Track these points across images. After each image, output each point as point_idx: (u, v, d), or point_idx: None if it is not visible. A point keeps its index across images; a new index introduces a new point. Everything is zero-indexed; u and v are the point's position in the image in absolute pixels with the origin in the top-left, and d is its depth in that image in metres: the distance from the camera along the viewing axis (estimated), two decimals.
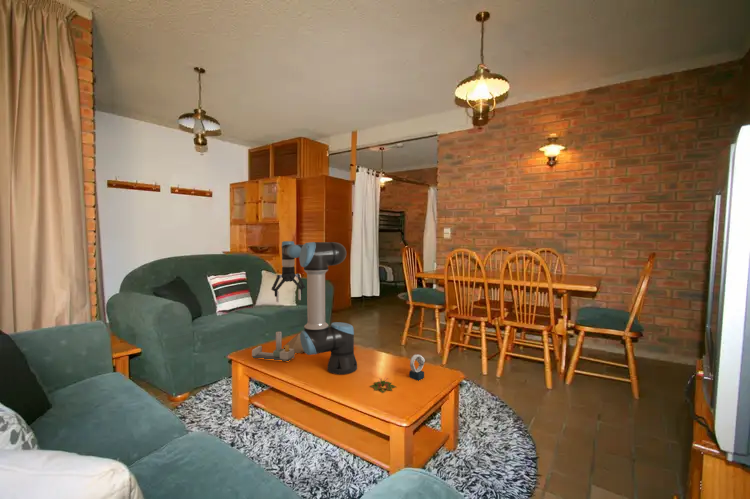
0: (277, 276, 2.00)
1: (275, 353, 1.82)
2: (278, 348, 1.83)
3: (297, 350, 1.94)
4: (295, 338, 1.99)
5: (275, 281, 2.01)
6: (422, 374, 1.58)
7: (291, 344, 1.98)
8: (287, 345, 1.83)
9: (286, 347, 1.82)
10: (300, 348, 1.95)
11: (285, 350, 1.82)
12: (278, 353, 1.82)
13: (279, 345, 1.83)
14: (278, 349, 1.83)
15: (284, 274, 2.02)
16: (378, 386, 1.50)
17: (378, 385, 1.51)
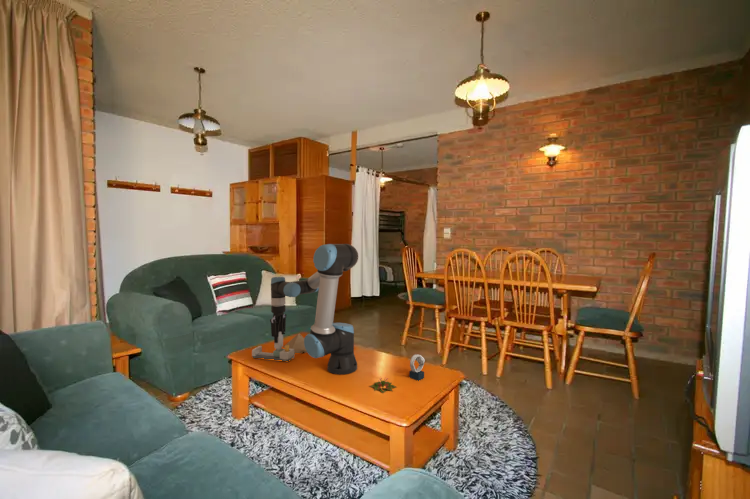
0: (273, 321, 1.77)
1: (275, 353, 1.82)
2: None
3: (297, 350, 1.94)
4: (295, 338, 1.99)
5: (273, 327, 1.78)
6: (422, 374, 1.58)
7: (291, 344, 1.98)
8: (287, 345, 1.83)
9: (286, 347, 1.82)
10: (300, 348, 1.95)
11: (285, 350, 1.82)
12: (278, 353, 1.82)
13: None
14: (278, 349, 1.83)
15: (277, 314, 1.81)
16: (378, 386, 1.50)
17: (378, 385, 1.51)
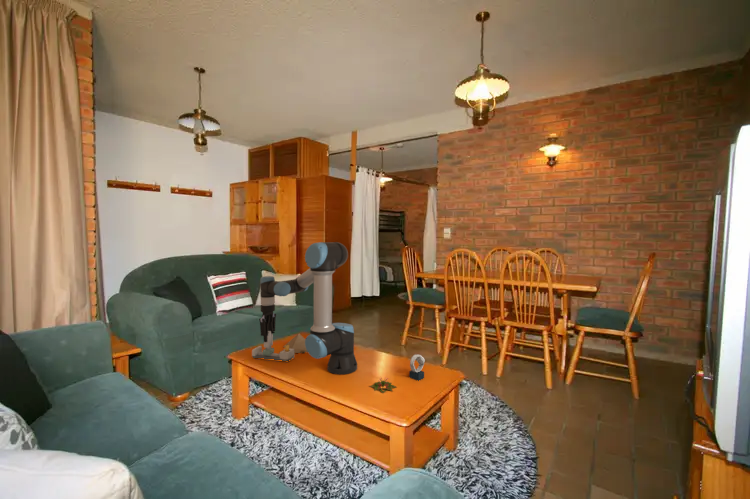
0: (262, 320, 1.79)
1: (264, 352, 1.84)
2: None
3: (297, 350, 1.94)
4: (295, 338, 1.99)
5: (262, 326, 1.80)
6: (422, 374, 1.58)
7: (291, 344, 1.98)
8: (287, 345, 1.83)
9: (286, 347, 1.82)
10: (300, 348, 1.95)
11: (285, 350, 1.82)
12: (267, 352, 1.83)
13: None
14: (267, 348, 1.84)
15: (266, 313, 1.82)
16: (378, 386, 1.50)
17: (378, 385, 1.51)
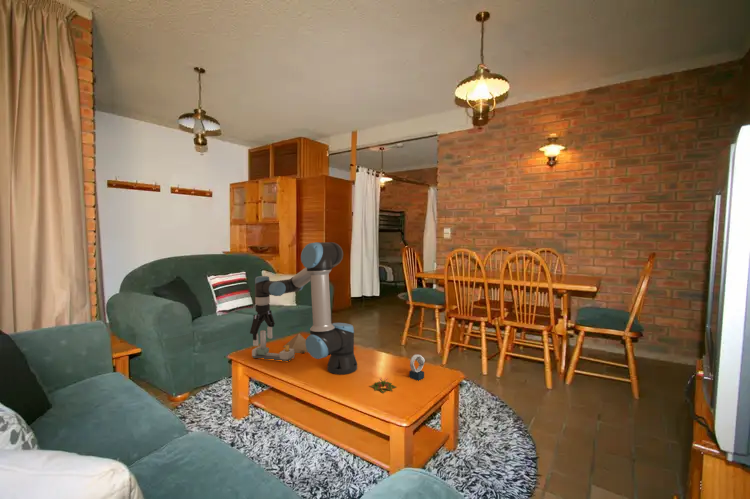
0: (256, 317, 1.79)
1: (259, 351, 1.85)
2: (262, 347, 1.85)
3: (297, 350, 1.93)
4: (295, 338, 1.99)
5: (254, 323, 1.79)
6: (422, 374, 1.58)
7: (291, 344, 1.98)
8: (287, 345, 1.83)
9: (286, 347, 1.82)
10: (300, 348, 1.95)
11: (285, 350, 1.82)
12: (262, 351, 1.84)
13: (263, 344, 1.85)
14: (262, 348, 1.85)
15: (261, 313, 1.83)
16: (378, 386, 1.50)
17: (378, 385, 1.51)
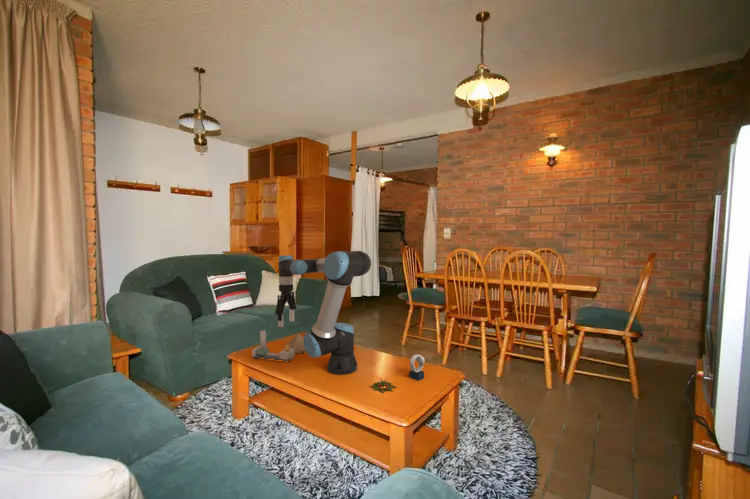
0: (280, 297, 1.75)
1: (259, 351, 1.85)
2: (262, 347, 1.85)
3: (297, 350, 1.93)
4: (295, 338, 1.99)
5: (278, 303, 1.75)
6: (422, 374, 1.58)
7: (291, 344, 1.98)
8: (287, 345, 1.83)
9: (286, 347, 1.82)
10: (300, 348, 1.95)
11: (285, 350, 1.82)
12: (262, 351, 1.84)
13: (263, 344, 1.85)
14: (262, 348, 1.85)
15: (285, 293, 1.79)
16: (378, 386, 1.50)
17: (378, 385, 1.51)
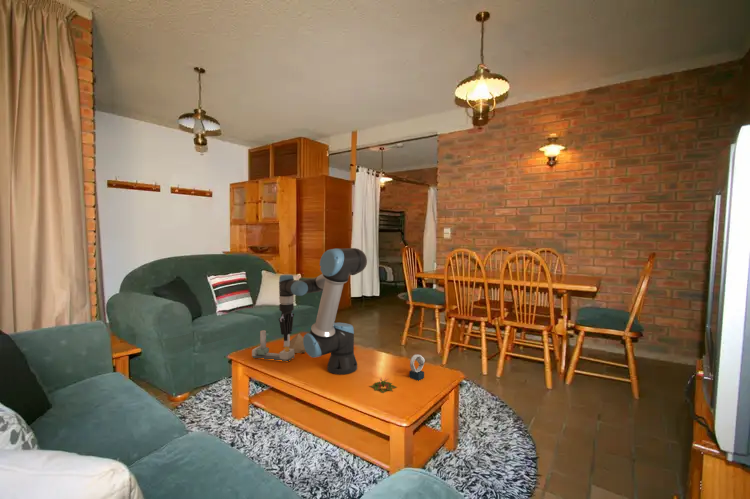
0: (282, 320, 1.76)
1: (259, 351, 1.85)
2: (262, 347, 1.85)
3: (297, 350, 1.93)
4: (295, 338, 1.99)
5: (282, 325, 1.78)
6: (422, 374, 1.58)
7: (291, 344, 1.98)
8: None
9: (286, 348, 1.82)
10: (300, 348, 1.95)
11: None
12: (262, 351, 1.84)
13: (263, 344, 1.85)
14: (262, 348, 1.85)
15: (285, 313, 1.79)
16: (378, 386, 1.50)
17: (378, 385, 1.50)
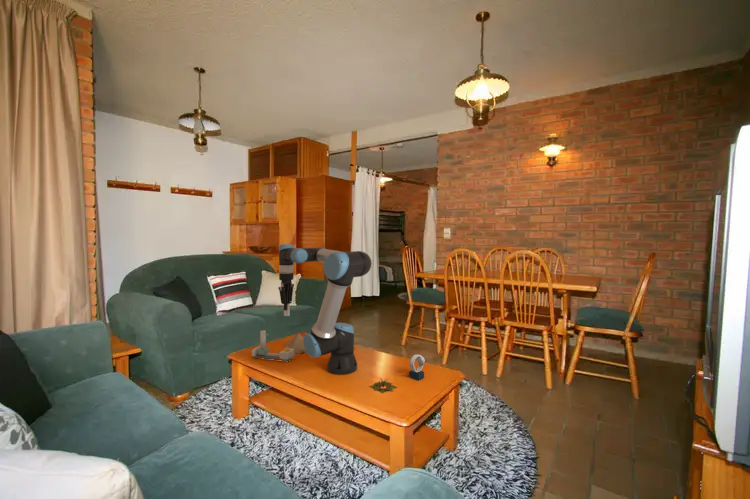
0: (282, 289, 1.76)
1: (259, 351, 1.85)
2: (262, 347, 1.85)
3: (296, 350, 1.93)
4: (295, 338, 1.99)
5: (281, 294, 1.77)
6: (422, 374, 1.58)
7: (291, 344, 1.98)
8: (287, 347, 1.83)
9: (286, 349, 1.82)
10: (299, 348, 1.95)
11: None
12: (262, 351, 1.84)
13: (263, 344, 1.85)
14: (262, 348, 1.85)
15: (285, 282, 1.79)
16: (378, 386, 1.49)
17: (378, 385, 1.50)
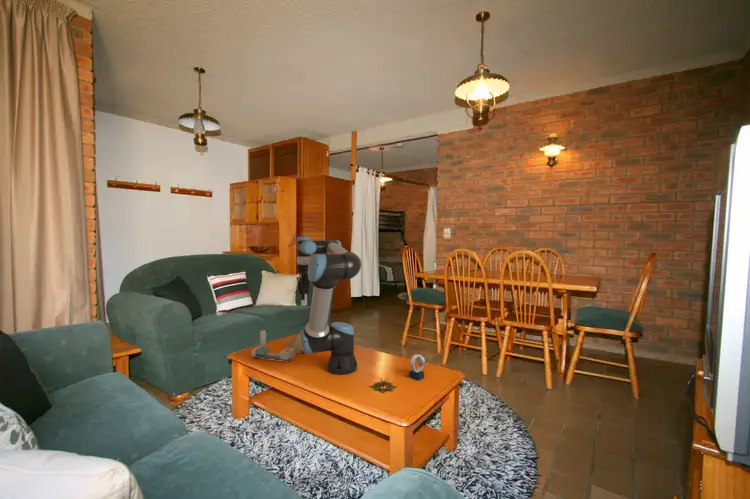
0: (300, 279, 1.84)
1: (259, 351, 1.85)
2: (262, 347, 1.85)
3: (296, 350, 1.93)
4: (295, 338, 1.99)
5: (299, 284, 1.85)
6: (422, 374, 1.58)
7: (291, 344, 1.98)
8: (287, 347, 1.83)
9: (286, 349, 1.82)
10: (299, 348, 1.95)
11: None
12: (262, 351, 1.84)
13: (263, 344, 1.85)
14: (262, 348, 1.85)
15: (303, 272, 1.87)
16: (378, 386, 1.49)
17: (379, 385, 1.50)
